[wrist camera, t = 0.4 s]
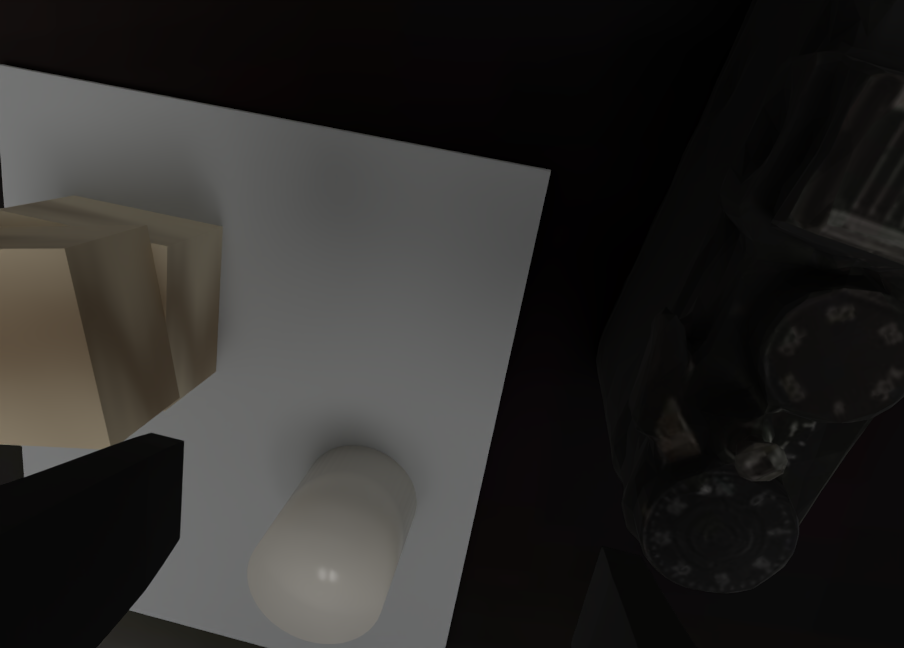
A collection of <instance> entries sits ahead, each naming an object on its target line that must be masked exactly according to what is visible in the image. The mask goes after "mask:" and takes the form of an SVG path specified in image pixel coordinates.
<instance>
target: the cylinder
mask: <svg viewBox="0 0 904 648" xmlns="http://www.w3.org/2000/svg"><path fill="white" fill-rule="evenodd" d="M416 506H417V498H416V492H415V489H414V486H413V483H412V481H411V479H410V477H409V476H408V474H407V473H406V471H405V470H404V469H403V468H402V467H401V466H400V465H399V464H398V463H397V462H396V461H395V460H393V459H392V458H391V457H389V456H388V455H386V454H384V453H382V452H380V451H378V450H375V449H372V448H369V447H364V446H355V445H350V446H342V447H337V448H334V449H331V450H329V451H327V452H326V453H324V454H323V455H321V456H320V457H319V458H318V459H317V460H316V461H315V462H314V463H313V465H312V466H311V468H310V469H309V470H308V472H307V473H306V475H305V476H304V478H303V479H302V481H301V482H300V484H299V485H298V486H297V488H296V489H295V491H294V492H293V494H292V495H291V497H290V498H289V500H288V501H287V503H286V504H285V505H284V507H283V508H282V510H281V511H280V513H279V514H278V516H277V517H276V519H275V520H274V521H273V523H272V524H271V526H270V527H269V529H268V530H267V532H266V533H265V535H264V536H263V538H262V539H261V540H260V542H259V543H258V545H257V546H256V548H255V549H254V551H253V553H252V555H251V556H250V559H249V562H248V568H247V580H248V586H249V589H250V592H251V595H252V597H253V599H254V601H255V603H256V604H257V606H258V608H259V609H260V610H261V611H262V613H263V614H264V615H265V616H266V617H267V618H268V619H269V620H270V621H271V622H272V623H273V624H275V625H276V626H277V627H279V628H280V629H282V630H283V631H285V632H287V633H288V634H290V635H292V636H295V637H297V638H299V639H302V640H305V641H309V642H313V643H320V644H338V643H344V642H348V641H351V640H354V639H357V638H358V637H360V636H362V635H364V634H365V633H366V632H368V631H369V630H370V629H371V628H372V627H373V626H374V624H375V623H376V621H377V620H378V618H379V616H380V613H381V611H382V608H383V605H384V602H385V599H386V596H387V593H388V591H389V588H390V585H391V582H392V579H393V576H394V573H395V571H396V568H397V565H398V562H399V559H400V556H401V553H402V551H403V548H404V545H405V542H406V539H407V536H408V533H409V530H410V528H411V525H412V522H413V519H414V516H415V512H416Z"/></svg>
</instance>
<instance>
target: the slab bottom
mask: <svg viewBox="0 0 904 648" xmlns="http://www.w3.org/2000/svg"><path fill="white" fill-rule="evenodd" d="M96 225H147V227H148V232H149V237H150V243H151V248H152V253H153V259H154V264H155V269H156V274H157V280H158V285H159V290H160V296H161V301H162V306H163V311H164V317H165V322H166V327H167V332H168V338H169V343H170V348H171V354H172V359H173V364H174V369H175V375H176V380H177V385H178V390H179V396H180V398H179V399H177V400H176V401H175V402H173V403H172V404H171V405H170V406H168V407H167V408H166V409H164V410H163V411H166V410H167V409H168V408H170V407H171V406H172V405H174V404H175V403H176V402H177V401H179V400H180V399H181V398H183V397H184V396H185V395H186V394H188V393H189V392H190V391H192V390H193V389H194V388H195V387H197V386H198V385H199V384H201V383H202V382H203V381H205V380H206V379H207V378H208V377H210V376H211V375H212V374H214V373H215V372H216V363H217V341H218V320H219V298H220V277H221V255H222V234H223V226H218V225H213V224H208V223H203V222H199V221H194V220H189V219H184V218H180V217H175V216H170V215H165V214H161V213H156V212H151V211H146V210H142V209H137V208H132V207H127V206H123V205H118V204H113V203H108V202H104V201H99V200H94V199H89V198H85V197H80V196H75V195H73V196H68V197H62V198H57V199H51V200H46V201H40V202H35V203H29V204H24V205H18V206H13V207H7V208H2V209H0V227H4V226H96Z"/></svg>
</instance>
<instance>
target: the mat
mask: <svg viewBox="0 0 904 648" xmlns="http://www.w3.org/2000/svg"><path fill="white" fill-rule="evenodd" d="M0 154H1V168H2V181H3V195H4V208H7V207H13V206H18V205H24V204H29V203H35V202H40V201H46V200H51V199H57V198H62V197H68V196H73V195H75V196H80V197H85V198H89V199H94V200H99V201H104V202H108V203H113V204H118V205H123V206H127V207H132V208H137V209H142V210H146V211H151V212H156V213H161V214H165V215H170V216H175V217H180V218H184V219H189V220H194V221H199V222H203V223H208V224H213V225H218V226H223V234H222V255H221V277H220V298H219V320H218V341H217V363H216V372H215V373H214V374H212V375H211V376H210V377H208V378H207V379H206V380H205V381H203V382H202V383H201V384H199V385H198V386H197V387H195V388H194V389H193V390H192V391H190V392H189V393H188V394H186V395H185V396H184V397H183V398H181V399H180V400H179V401H177V402H176V403H175V404H174V405H172V406H171V407H170V408H168V409H167V410H166V411H162V412H160V413H159V414H158V415H157V416H155V417H154V418H153V419H151V420H150V421H149V422H147V423H146V424H145V425H144V426H142V427H141V428H140V429H138V430H137V431H136V432H134V433H133V434H132V435H131V436H129V437H128V438H127V439H125V440H124V441H126V440H129V439H132V438H135V437H138V436H141V435H145V434H148V433H155V434H159V435H163V436H167V437H171V438H175V439H179V440H183V441H184V460H183V483H182V506H181V529H180V539H179V541H178V543H177V544H176V546H175V547H174V549H173V550H172V552H171V553H170V555H169V556H168V558H167V559H166V561H165V563H164V564H163V566H162V567H161V569H160V570H159V572H158V573H157V574H156V576H155V577H154V579H153V580H152V582H151V583H150V584H149V586H148V587H147V589H146V590H145V591H144V593H143V594H142V595H141V596H140V597H139V599H138V600H137V601H136V602H135V603H134V605H133V606H132V607H131V608H130V609H129V610H130V611H134V612H138V613H142V614H145V615H149V616H153V617H156V618H160V619H164V620H167V621H171V622H175V623H178V624H182V625H186V626H189V627H193V628H197V629H201V630H204V631H208V632H212V633H215V634H219V635H223V636H226V637H230V638H234V639H237V640H241V641H245V642H248V643H252V644H256V645H260V646H263V647H267V648H445V647H446V642H447V638H448V633H449V629H450V624H451V620H452V615H453V611H454V606H455V601H456V597H457V592H458V588H459V583H460V579H461V574H462V570H463V565H464V561H465V556H466V552H467V547H468V543H469V538H470V534H471V529H472V525H473V520H474V516H475V511H476V507H477V502H478V498H479V493H480V489H481V484H482V480H483V475H484V471H485V466H486V462H487V457H488V453H489V448H490V443H491V439H492V434H493V430H494V425H495V421H496V416H497V412H498V407H499V403H500V398H501V394H502V389H503V385H504V380H505V376H506V371H507V367H508V362H509V358H510V353H511V349H512V344H513V340H514V335H515V331H516V326H517V322H518V317H519V313H520V308H521V304H522V299H523V295H524V290H525V286H526V281H527V276H528V272H529V267H530V263H531V258H532V254H533V249H534V245H535V240H536V236H537V231H538V227H539V222H540V218H541V213H542V209H543V204H544V200H545V195H546V191H547V186H548V182H549V177H550V173H551V170H549V169H544V168H539V167H534V166H528V165H523V164H518V163H513V162H508V161H502V160H497V159H492V158H487V157H482V156H477V155H471V154H466V153H461V152H456V151H451V150H445V149H440V148H435V147H430V146H425V145H419V144H414V143H409V142H404V141H399V140H393V139H388V138H383V137H378V136H373V135H367V134H362V133H357V132H352V131H347V130H341V129H336V128H331V127H326V126H321V125H315V124H310V123H305V122H300V121H295V120H289V119H284V118H279V117H274V116H269V115H263V114H258V113H253V112H248V111H243V110H237V109H232V108H227V107H222V106H217V105H212V104H206V103H201V102H196V101H191V100H186V99H180V98H175V97H170V96H165V95H160V94H154V93H149V92H144V91H139V90H134V89H128V88H123V87H118V86H113V85H108V84H102V83H97V82H92V81H87V80H82V79H76V78H71V77H66V76H61V75H56V74H50V73H45V72H40V71H35V70H30V69H24V68H19V67H14V66H9V65H2V64H0ZM350 445H355V446H364V447H369V448H372V449H375V450H378V451H380V452H382V453H384V454H386V455H388V456H389V457H391V458H392V459H393V460H395V461H396V462H397V463H398V464H399V465H400V466H401V467H402V468H403V469H404V470H405V471H406V473H407V474H408V476H409V477H410V479H411V481H412V483H413V486H414V489H415V492H416V498H417V506H416V512H415V516H414V519H413V522H412V525H411V528H410V530H409V533H408V536H407V539H406V542H405V545H404V548H403V551H402V553H401V556H400V559H399V562H398V565H397V568H396V571H395V573H394V576H393V579H392V582H391V585H390V588H389V591H388V593H387V596H386V599H385V602H384V605H383V608H382V611H381V613H380V616H379V618H378V620H377V621H376V623H375V624H374V626H373V627H372V628H371V629H370V630H369V631H368V632H366V633H365V634H364V635H362V636H360V637H358V638H357V639H354V640H351V641H348V642H344V643H338V644H320V643H313V642H309V641H305V640H302V639H299V638H297V637H295V636H292V635H290V634H288V633H287V632H285V631H283V630H282V629H280V628H279V627H277V626H276V625H275V624H273V623H272V622H271V621H270V620H269V619H268V618H267V617H266V616H265V615H264V614H263V613H262V611H261V610H260V609H259V608H258V606H257V604H256V603H255V601H254V599H253V597H252V595H251V592H250V589H249V586H248V580H247V568H248V562H249V559H250V556H251V555H252V553H253V551H254V549H255V548H256V546H257V545H258V543H259V542H260V540H261V539H262V538H263V536H264V535H265V533H266V532H267V530H268V529H269V527H270V526H271V524H272V523H273V521H274V520H275V519H276V517H277V516H278V514H279V513H280V511H281V510H282V508H283V507H284V505H285V504H286V503H287V501H288V500H289V498H290V497H291V495H292V494H293V492H294V491H295V489H296V488H297V486H298V485H299V484H300V482H301V481H302V479H303V478H304V476H305V475H306V473H307V472H308V470H309V469H310V468H311V466H312V465H313V463H314V462H315V461H316V460H317V459H318V458H319V457H320V456H321V455H323V454H324V453H326V452H327V451H329V450H331V449H334V448H337V447H342V446H350ZM98 450H100V449H81V448H62V447H43V446H23V445H22V453H23V467H24V477H27V476H29V475H32V474H35V473H38V472H40V471H43V470H46V469H49V468H51V467H54V466H57V465H60V464H62V463H65V462H68V461H71V460H73V459H76V458H79V457H82V456H84V455H87V454H90V453H92V452H95V451H98Z"/></svg>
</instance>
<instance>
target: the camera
mask: <svg viewBox="0 0 904 648" xmlns="http://www.w3.org/2000/svg"><path fill="white" fill-rule="evenodd" d="M596 365H597V373H598V378H599V382H600V387H601V393H602V398H603V404H604V412H605V418H606V423H607V428H608V434H609V439H610V445H611V454H612V462H613V467H614V470H615V472H616V474H617V476H618V478H619V479H620V480H621V482H622V483H623V489H624V493H623V498H622V502H621V505H622V510H623V514H624V518H625V522H626V526H627V529H628V530H629V531H630V532H631V533H632V534H633V535H634V536H635V537H636V538H637V539H638V540H639V541H640V544H641V547H642V550H643V554H644V555H645V557H646V558H647V559H648V560H649V562H650V563H651V564H652V566H653V567H654V568H655V569H656V570H657V571H659V572H660V573H661V574H662V575H663V576H664V577H666V578H667V579H669V580H671V581H673V582H674V583H676V584H678V585H681V586H684V587H686V588H689V589H695V590H702V591H709V592H717V593H734V592H740V591H745V590H750V589H753V588H755V587H756V586H758V585H759V584H761V583H762V582H764V581H765V580H767V579H768V578H770V577H771V576H772V575H774V574H775V573H776V572H778V571H779V570H780V569H782V568H783V567H784V566H785V565H786V563H787V562H788V560H789V559H790V557H791V556H792V554H793V553H794V551H795V547H796V543H797V540H798V536H799V524H800V523H801V522H802V520H803V519H804V517H805V516H806V514H807V513H808V511H809V509H810V508H811V506H812V505H813V503H814V502H815V500H816V499H817V497H818V495H819V494H820V492H821V491H822V489H823V488H824V486H825V485H826V483H827V482H828V481H829V479H830V478H831V476H832V475H833V473H834V472H835V470H836V469H837V467H838V466H839V465H840V463H841V462H842V460H843V459H844V457H845V456H846V454H847V453H848V452H849V450H850V449H851V447H852V446H853V445H854V443H855V442H856V441H857V439H858V438H859V437H860V435H861V434H862V433H863V431H864V430H865V428H866V427H867V426H868V424H869V423H870V422H871V420H872V419H873V417H874V416H876V415H878V414H880V413H882V412H884V411H886V410H888V409H890V408H891V407H892V406H894V405H895V404H896V403H897V402H898V401H899V400H900V399H902V398H903V397H904V0H752V2H751V5H750V7H749V9H748V12H747V14H746V16H745V18H744V21H743V23H742V25H741V28H740V30H739V32H738V35H737V37H736V39H735V41H734V44H733V46H732V48H731V51H730V53H729V55H728V58H727V60H726V62H725V64H724V66H723V68H722V70H721V72H720V75H719V77H718V79H717V81H716V83H715V86H714V88H713V91H712V93H711V95H710V98H709V100H708V102H707V105H706V107H705V109H704V112H703V114H702V116H701V118H700V121H699V123H698V125H697V127H696V129H695V131H694V133H693V135H692V137H691V139H690V141H689V143H688V145H687V147H686V149H685V151H684V153H683V155H682V157H681V160H680V162H679V165H678V167H677V170H676V173H675V175H674V178H673V180H672V183H671V185H670V187H669V189H668V191H667V193H666V195H665V197H664V199H663V201H662V203H661V205H660V207H659V209H658V211H657V213H656V215H655V217H654V220H653V222H652V224H651V226H650V229H649V231H648V233H647V236H646V238H645V240H644V243H643V245H642V247H641V250H640V252H639V255H638V257H637V259H636V261H635V263H634V266H633V268H632V270H631V272H630V274H629V276H628V278H627V279H626V281H625V283H624V285H623V288H622V290H621V293H620V295H619V297H618V300H617V301H616V303H615V305H614V307H613V310H612V312H611V314H610V317H609V319H608V321H607V323H606V325H605V327H604V330H603V333H602V335H601V338H600V341H599V344H598V352H597V357H596Z"/></svg>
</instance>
